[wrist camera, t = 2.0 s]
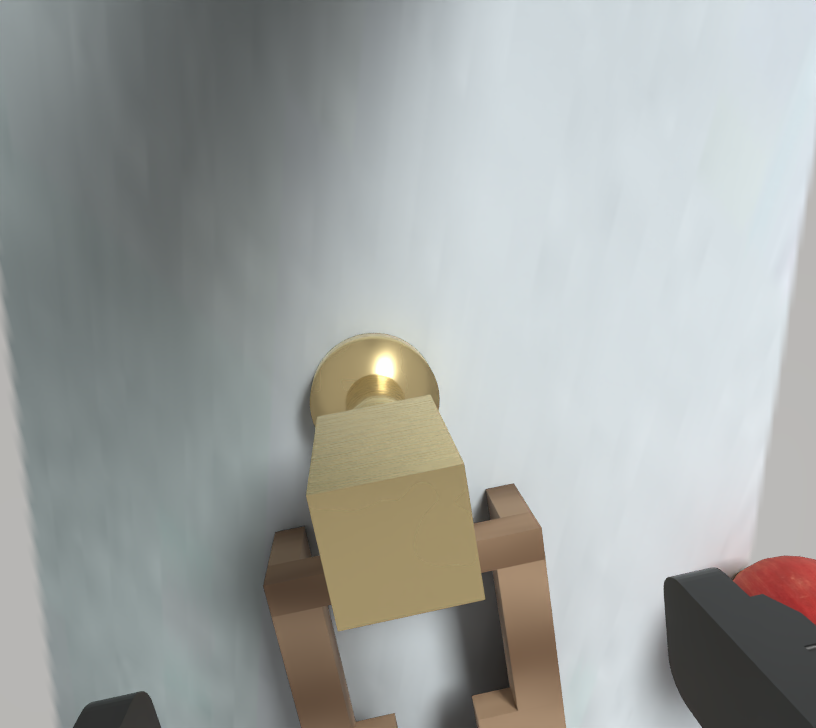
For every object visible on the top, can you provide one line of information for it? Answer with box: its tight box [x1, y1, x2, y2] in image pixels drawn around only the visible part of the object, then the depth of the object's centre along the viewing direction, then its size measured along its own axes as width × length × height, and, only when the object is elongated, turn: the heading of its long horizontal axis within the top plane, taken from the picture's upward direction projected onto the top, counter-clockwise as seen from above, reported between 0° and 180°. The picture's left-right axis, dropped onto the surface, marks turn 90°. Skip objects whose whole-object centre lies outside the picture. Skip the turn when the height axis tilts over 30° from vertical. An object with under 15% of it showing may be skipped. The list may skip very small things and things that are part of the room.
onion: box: [732, 556, 816, 625], centre depth 23 cm, size 6×6×8 cm
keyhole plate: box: [263, 484, 566, 728], centre depth 25 cm, size 18×10×4 cm, turn 10°
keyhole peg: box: [306, 333, 485, 631], centre depth 17 cm, size 5×5×11 cm
